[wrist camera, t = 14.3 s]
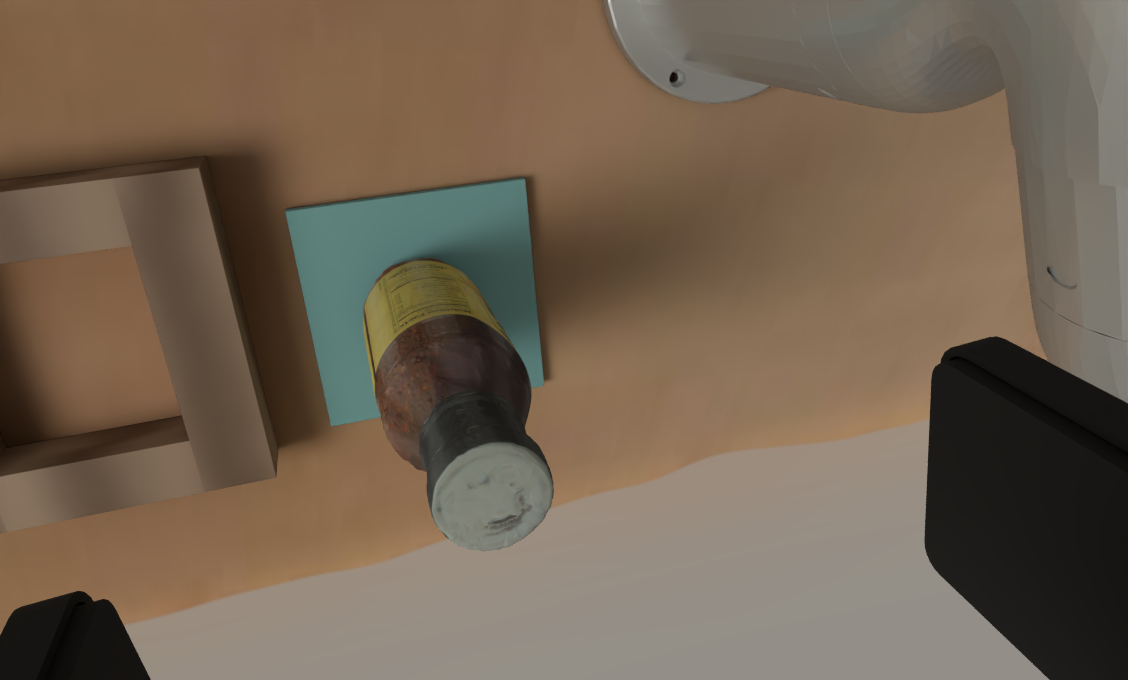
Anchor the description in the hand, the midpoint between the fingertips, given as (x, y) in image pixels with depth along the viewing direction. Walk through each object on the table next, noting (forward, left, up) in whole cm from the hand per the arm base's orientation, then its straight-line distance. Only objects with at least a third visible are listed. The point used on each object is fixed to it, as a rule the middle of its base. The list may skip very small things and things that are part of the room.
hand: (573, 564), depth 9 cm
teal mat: (-1, +10, -35) cm, 36 cm away
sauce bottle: (-1, +10, -35) cm, 36 cm away
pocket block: (+16, +9, -35) cm, 39 cm away
